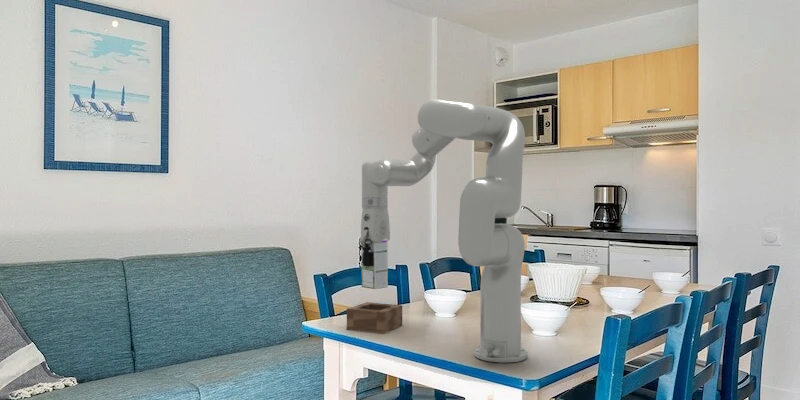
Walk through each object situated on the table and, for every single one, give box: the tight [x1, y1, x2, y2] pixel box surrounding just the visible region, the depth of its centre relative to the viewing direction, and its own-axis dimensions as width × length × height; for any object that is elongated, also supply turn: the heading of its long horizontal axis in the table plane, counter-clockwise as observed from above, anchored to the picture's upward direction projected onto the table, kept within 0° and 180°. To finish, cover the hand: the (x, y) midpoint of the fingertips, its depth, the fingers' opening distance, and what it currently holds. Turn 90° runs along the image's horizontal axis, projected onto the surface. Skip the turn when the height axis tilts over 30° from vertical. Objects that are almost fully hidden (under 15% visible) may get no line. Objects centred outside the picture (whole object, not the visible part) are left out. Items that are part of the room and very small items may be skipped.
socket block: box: [346, 301, 403, 335], centre depth 174 cm, size 12×12×6 cm
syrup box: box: [360, 238, 389, 290], centre depth 174 cm, size 6×6×14 cm
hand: (374, 264), depth 174 cm, fingers closed on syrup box, 7 cm apart
